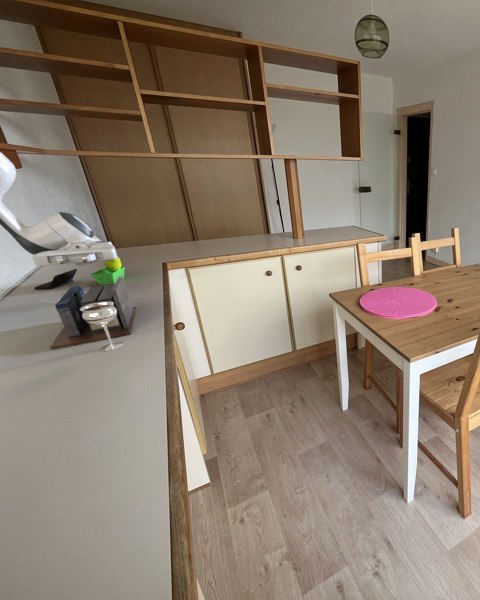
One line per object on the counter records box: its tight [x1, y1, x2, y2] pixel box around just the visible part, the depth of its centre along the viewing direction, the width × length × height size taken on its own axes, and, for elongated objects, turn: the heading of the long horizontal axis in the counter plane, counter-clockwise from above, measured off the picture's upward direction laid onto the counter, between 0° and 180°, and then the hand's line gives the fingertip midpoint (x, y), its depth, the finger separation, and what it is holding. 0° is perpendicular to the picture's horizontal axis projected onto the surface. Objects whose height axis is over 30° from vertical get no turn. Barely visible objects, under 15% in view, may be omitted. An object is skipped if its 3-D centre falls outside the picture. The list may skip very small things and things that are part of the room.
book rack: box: [50, 276, 138, 351], centre depth 94 cm, size 16×22×13 cm
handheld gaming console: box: [33, 268, 78, 290], centre depth 129 cm, size 12×7×10 cm
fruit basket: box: [91, 256, 126, 286], centre depth 134 cm, size 11×9×11 cm
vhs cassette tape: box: [54, 285, 87, 337], centre depth 93 cm, size 18×3×10 cm, turn 33°
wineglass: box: [80, 301, 125, 352], centre depth 83 cm, size 7×7×12 cm
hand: (73, 260), depth 101 cm, fingers open, 4 cm apart
